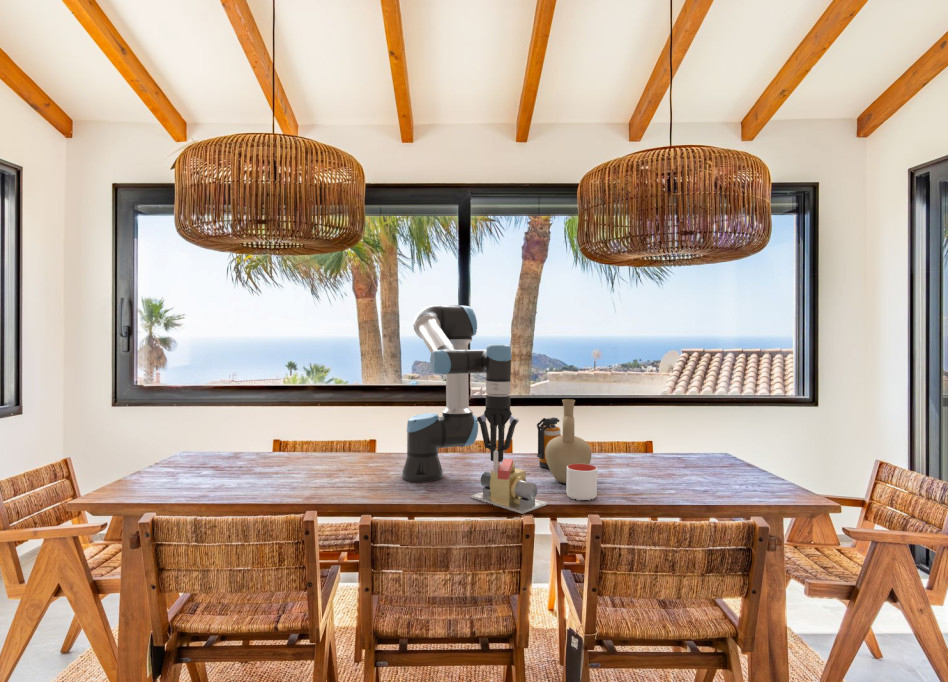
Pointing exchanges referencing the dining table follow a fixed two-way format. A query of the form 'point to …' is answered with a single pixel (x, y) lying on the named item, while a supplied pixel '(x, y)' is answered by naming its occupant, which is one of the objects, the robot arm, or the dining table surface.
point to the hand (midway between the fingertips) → (496, 471)
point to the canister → (546, 437)
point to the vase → (566, 447)
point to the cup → (581, 481)
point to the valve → (510, 492)
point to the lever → (506, 469)
